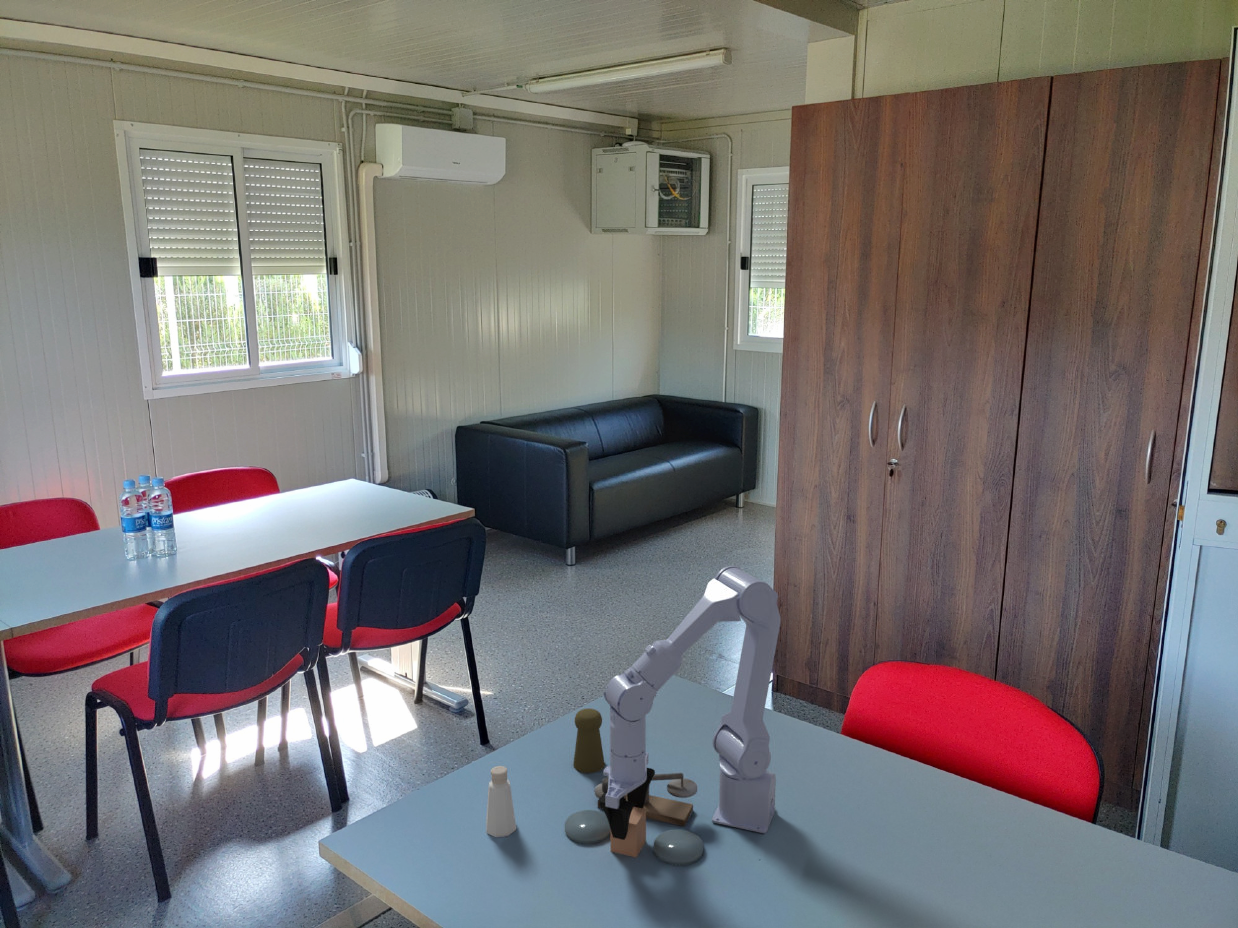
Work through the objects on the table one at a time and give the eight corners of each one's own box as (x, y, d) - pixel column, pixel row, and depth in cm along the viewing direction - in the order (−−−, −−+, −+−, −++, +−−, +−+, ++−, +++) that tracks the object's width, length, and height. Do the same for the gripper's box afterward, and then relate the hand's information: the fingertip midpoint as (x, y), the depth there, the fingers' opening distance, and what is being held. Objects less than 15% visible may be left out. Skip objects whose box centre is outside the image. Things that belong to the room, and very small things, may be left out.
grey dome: (618, 820, 159) (618, 815, 159) (601, 847, 152) (601, 842, 152) (576, 811, 162) (576, 806, 162) (557, 837, 155) (556, 831, 154)
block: (645, 841, 153) (645, 809, 152) (636, 857, 149) (636, 824, 148) (620, 835, 155) (620, 803, 154) (610, 851, 151) (610, 818, 150)
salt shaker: (511, 839, 154) (509, 779, 152) (480, 835, 155) (478, 776, 153) (521, 820, 159) (519, 762, 157) (491, 816, 160) (489, 759, 158)
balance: (700, 811, 162) (701, 768, 160) (691, 828, 157) (692, 784, 155) (601, 790, 168) (601, 748, 167) (590, 805, 164) (589, 763, 162)
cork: (604, 773, 174) (603, 719, 172) (572, 772, 174) (571, 719, 172) (605, 756, 180) (604, 704, 178) (574, 756, 180) (573, 704, 178)
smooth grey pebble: (708, 840, 153) (708, 835, 153) (694, 869, 146) (694, 864, 146) (663, 830, 156) (663, 825, 156) (647, 858, 149) (647, 853, 149)
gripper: (620, 723, 156) (621, 795, 159) (587, 765, 143) (587, 843, 146) (660, 730, 154) (659, 804, 157) (629, 774, 141) (629, 853, 144)
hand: (627, 824), depth 151 cm, fingers open, 7 cm apart
